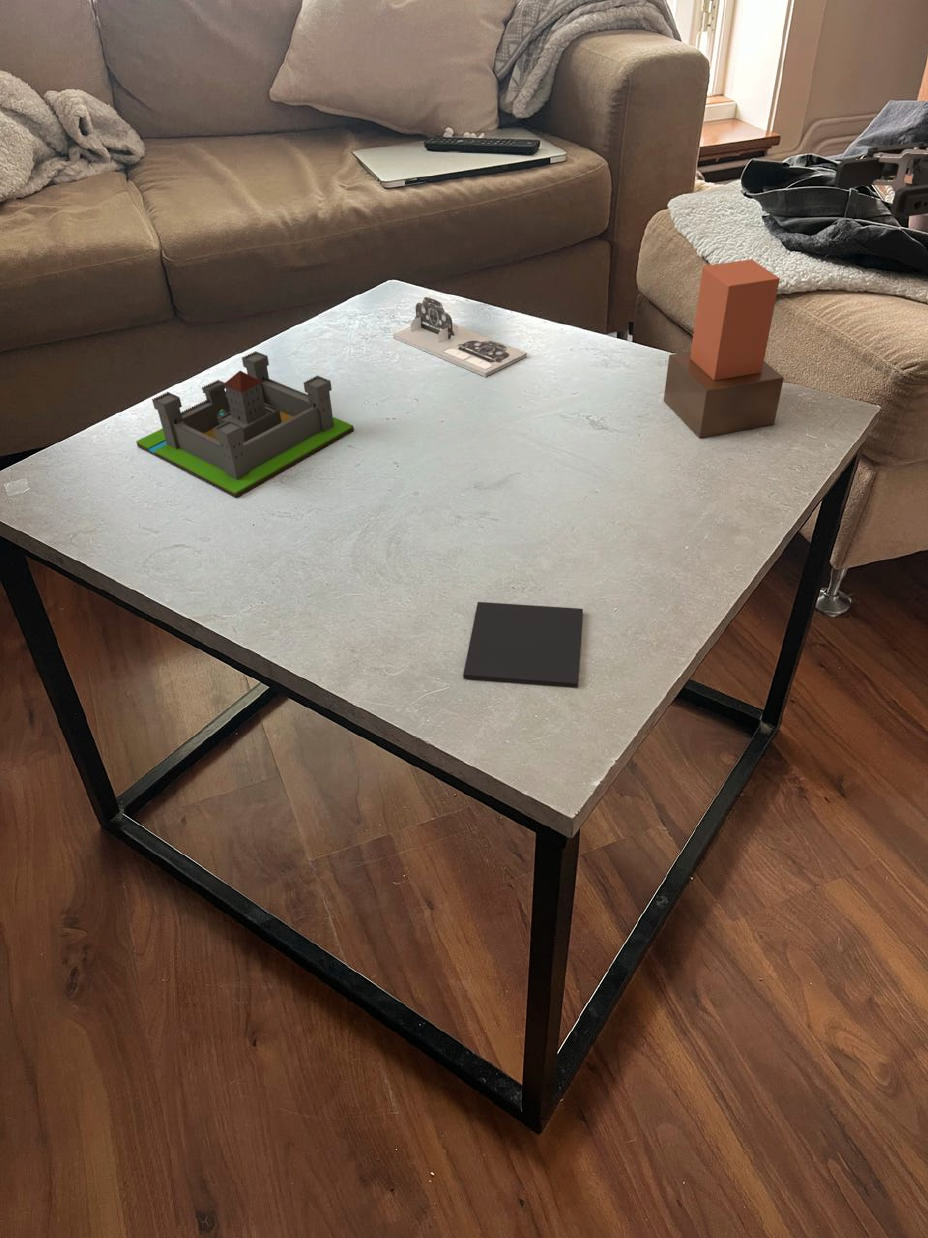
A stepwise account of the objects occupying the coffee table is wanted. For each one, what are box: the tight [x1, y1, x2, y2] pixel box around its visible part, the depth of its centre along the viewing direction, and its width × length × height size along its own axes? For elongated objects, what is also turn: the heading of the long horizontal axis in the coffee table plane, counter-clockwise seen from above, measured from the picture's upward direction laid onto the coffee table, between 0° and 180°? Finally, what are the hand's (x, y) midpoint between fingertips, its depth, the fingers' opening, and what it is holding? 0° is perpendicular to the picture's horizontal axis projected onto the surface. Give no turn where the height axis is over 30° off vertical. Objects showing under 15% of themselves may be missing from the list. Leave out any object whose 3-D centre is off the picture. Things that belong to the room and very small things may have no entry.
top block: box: [690, 259, 781, 381], centre depth 86 cm, size 5×5×9 cm
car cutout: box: [392, 296, 528, 378], centre depth 104 cm, size 15×7×4 cm, turn 45°
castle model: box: [136, 350, 355, 499], centre depth 89 cm, size 15×15×7 cm
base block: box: [663, 350, 785, 439], centre depth 91 cm, size 8×8×5 cm
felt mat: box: [462, 601, 584, 688], centre depth 67 cm, size 8×8×1 cm
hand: (865, 189), depth 81 cm, fingers open, 8 cm apart
